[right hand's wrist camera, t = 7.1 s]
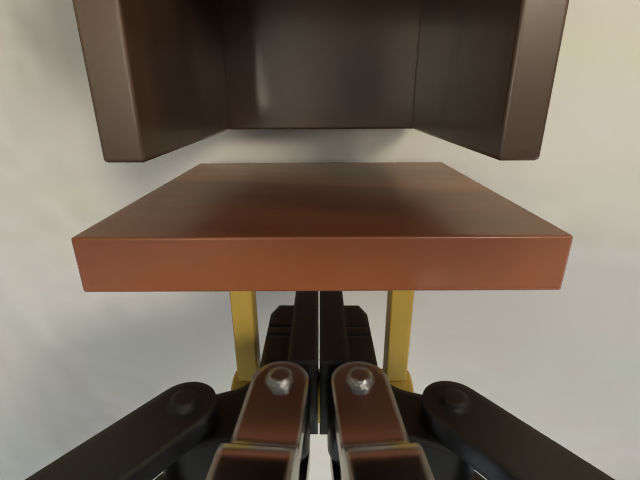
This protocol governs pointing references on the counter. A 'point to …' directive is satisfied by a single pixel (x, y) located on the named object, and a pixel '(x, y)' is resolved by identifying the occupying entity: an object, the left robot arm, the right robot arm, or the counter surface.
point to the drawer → (321, 178)
